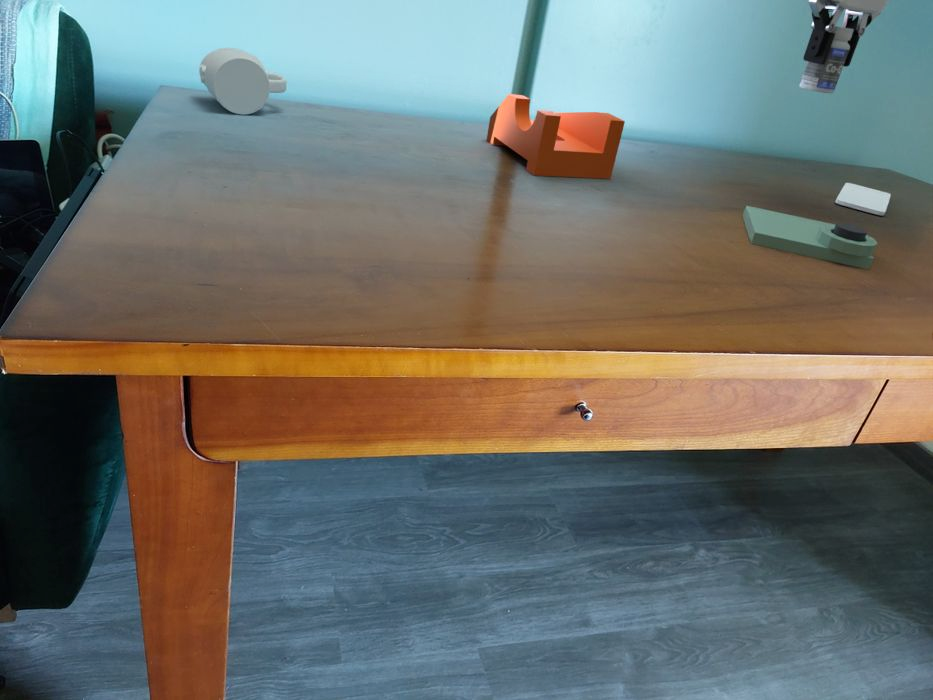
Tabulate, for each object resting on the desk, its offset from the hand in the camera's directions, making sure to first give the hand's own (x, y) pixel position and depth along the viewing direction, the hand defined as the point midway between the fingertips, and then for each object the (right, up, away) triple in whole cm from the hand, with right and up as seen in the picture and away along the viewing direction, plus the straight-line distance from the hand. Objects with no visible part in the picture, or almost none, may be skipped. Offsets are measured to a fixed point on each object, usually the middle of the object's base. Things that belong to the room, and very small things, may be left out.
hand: (826, 62), depth 102 cm
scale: (-7, -26, -8) cm, 28 cm away
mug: (-84, -3, +10) cm, 85 cm away
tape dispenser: (-38, -11, +10) cm, 41 cm away
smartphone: (+14, -16, +17) cm, 27 cm away
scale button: (-4, -27, -13) cm, 30 cm away
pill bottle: (-1, -3, +2) cm, 4 cm away
